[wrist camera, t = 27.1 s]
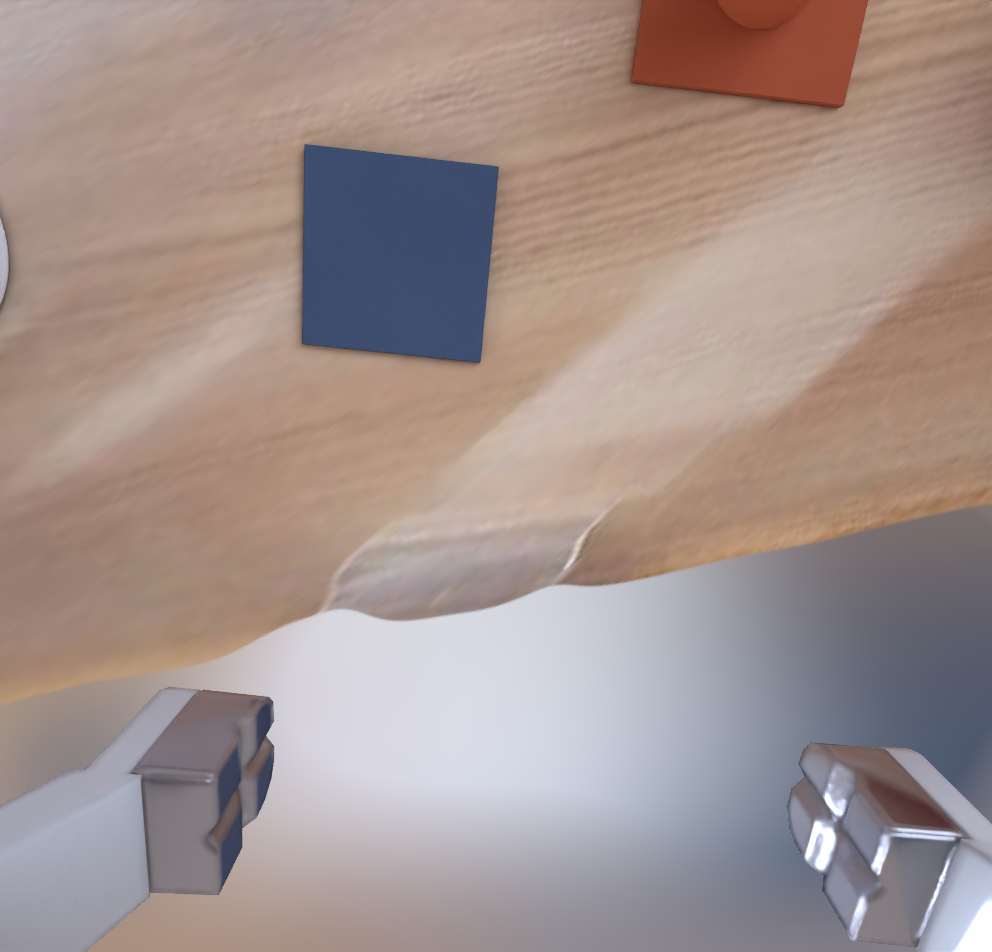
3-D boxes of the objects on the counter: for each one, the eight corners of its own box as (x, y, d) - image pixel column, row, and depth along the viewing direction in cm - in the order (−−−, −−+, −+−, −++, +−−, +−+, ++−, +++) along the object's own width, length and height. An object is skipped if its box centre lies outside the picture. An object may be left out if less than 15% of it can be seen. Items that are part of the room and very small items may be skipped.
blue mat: (303, 343, 37) (301, 343, 37) (306, 146, 34) (304, 143, 33) (480, 362, 37) (480, 362, 37) (498, 168, 34) (498, 166, 34)
